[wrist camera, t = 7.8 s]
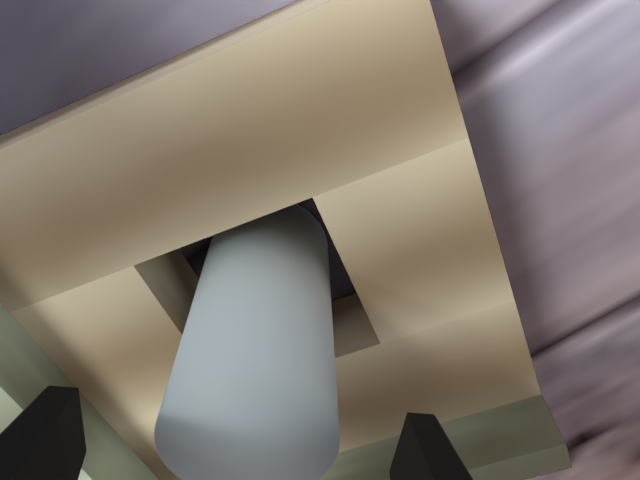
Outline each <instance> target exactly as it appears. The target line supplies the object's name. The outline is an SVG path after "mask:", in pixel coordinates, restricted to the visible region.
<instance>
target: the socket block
mask: <svg viewBox="0 0 640 480" xmlns="http://www.w3.org/2000/svg"><path fill="white" fill-rule="evenodd" d="M309 198H313V200H314V202H315V204H316V206H317V208H318V211H319V213H320V215H321V217H322V219H323V221H324V223H325V226H326V228H327V230H328V232H329V234H330V236H331V238H332V241H333V243H334V245H335V247H336V249H337V251H338V253H339V256H340V258H341V260H342V262H343V264H344V266H345V268H346V271H347V273H348V275H349V277H350V279H351V281H352V283H353V286H354V288H355V290H356V292H357V293H355V294H352V295H349V296H346V297H343V298H340V299H337V300H334V301H331V305H332V321H333V337H334V352H335V368H336V384H337V400H338V416H339V432H340V446H339V450H338V454H337V456H336V459H335V461H334V463H333V464H332V466H331V467H330V469H329V470H328V471H327V472H326V473H325V474H324V475H323V476H322V477H321V478H319V479H318V480H390V472H389V471H390V467H391V464H392V461H393V457H394V454H395V451H396V448H397V444H398V441H399V438H400V435H401V431H402V428H403V425H404V421H405V418H406V415H407V412H410V413H423V414H434V415H435V417H436V418H437V419H438V421H439V423H440V424H441V426H442V428H443V430H444V431H445V433H446V435H447V437H448V438H449V440H450V442H451V444H452V445H453V447H454V449H455V450H456V452H457V454H458V455H459V457H460V459H461V460H462V462H463V464H464V465H465V467H466V469H467V470H468V472H469V473H470V475H471V477H472V478H473V480H525V479H529V478H533V477H537V476H541V475H544V474H548V473H552V472H556V471H560V470H564V469H567V468H571V467H572V464H571V461H570V457H569V453H568V449H567V446H566V443H565V441H564V439H563V437H562V435H561V433H560V431H559V429H558V427H557V425H556V423H555V421H554V419H553V417H552V415H551V413H550V410H549V408H548V406H547V404H546V402H545V400H544V398H543V396H542V394H541V391H540V387H539V384H538V380H537V377H536V373H535V370H534V366H533V363H532V359H531V356H530V352H529V349H528V345H527V342H526V338H525V334H524V331H523V327H522V324H521V320H520V317H519V313H518V310H517V306H516V303H515V299H514V296H513V292H512V289H511V285H510V282H509V278H508V275H507V271H506V267H505V264H504V260H503V257H502V253H501V250H500V246H499V243H498V239H497V236H496V232H495V229H494V225H493V222H492V218H491V215H490V211H489V208H488V204H487V200H486V197H485V193H484V190H483V186H482V183H481V179H480V176H479V172H478V169H477V165H476V162H475V158H474V155H473V151H472V148H471V144H470V141H469V137H468V134H467V130H466V126H465V123H464V119H463V116H462V112H461V109H460V105H459V102H458V98H457V95H456V91H455V88H454V84H453V81H452V77H451V74H450V70H449V67H448V63H447V59H446V56H445V52H444V49H443V45H442V42H441V38H440V35H439V31H438V28H437V24H436V21H435V17H434V14H433V10H432V7H431V3H430V0H298V1H296V2H294V3H291V4H289V5H287V6H285V7H283V8H280V9H278V10H276V11H274V12H272V13H269V14H267V15H265V16H263V17H261V18H258V19H256V20H254V21H252V22H250V23H247V24H245V25H243V26H241V27H239V28H236V29H234V30H232V31H230V32H228V33H225V34H223V35H221V36H219V37H217V38H214V39H212V40H210V41H208V42H206V43H203V44H201V45H199V46H197V47H195V48H192V49H190V50H188V51H186V52H184V53H181V54H179V55H177V56H175V57H173V58H170V59H168V60H166V61H164V62H162V63H159V64H157V65H155V66H153V67H151V68H148V69H146V70H144V71H142V72H140V73H137V74H135V75H133V76H131V77H129V78H126V79H124V80H122V81H120V82H118V83H115V84H113V85H111V86H109V87H107V88H104V89H102V90H100V91H98V92H96V93H93V94H91V95H89V96H87V97H85V98H82V99H80V100H78V101H76V102H74V103H71V104H69V105H67V106H65V107H63V108H60V109H58V110H56V111H54V112H52V113H49V114H47V115H45V116H43V117H41V118H38V119H36V120H34V121H32V122H30V123H27V124H25V125H23V126H21V127H19V128H16V129H14V130H12V131H10V132H8V133H5V134H3V135H1V136H0V433H1V432H2V431H3V430H4V429H5V428H6V427H7V426H8V425H9V424H10V423H11V422H12V421H13V420H14V419H15V418H16V417H17V416H18V415H19V414H20V413H21V412H22V411H23V410H24V409H25V408H26V407H27V406H28V405H29V404H30V403H31V402H32V401H33V400H34V399H35V398H36V397H37V396H38V395H39V394H40V393H41V392H42V391H43V390H44V389H45V388H46V387H48V386H63V387H76V388H78V389H79V396H80V404H81V412H82V419H83V427H84V434H85V442H86V450H87V452H86V455H85V458H84V461H83V465H82V468H81V471H80V474H79V478H78V480H181V479H180V478H179V477H177V476H176V475H175V474H174V473H173V472H172V471H170V469H169V468H168V467H167V466H166V465H165V464H164V462H163V461H162V459H161V457H160V456H159V453H158V451H157V449H156V445H155V440H154V430H155V425H156V421H157V418H158V414H159V411H160V408H161V404H162V401H163V398H164V394H165V391H166V388H167V384H168V381H169V378H170V375H171V371H172V368H173V365H174V361H175V358H176V355H177V351H178V348H179V345H180V341H181V338H182V335H183V332H184V328H185V325H186V322H187V318H188V315H189V312H190V308H191V305H192V302H193V298H194V295H195V292H196V289H197V285H198V282H199V278H198V277H197V275H196V274H195V272H194V271H193V269H192V267H191V266H190V264H189V263H188V261H187V260H186V258H185V257H184V255H183V253H182V252H181V250H180V249H179V248H181V247H184V246H186V245H189V244H191V243H194V242H197V241H199V240H202V239H204V238H207V237H210V236H212V235H215V234H218V233H220V232H223V231H225V230H228V229H231V228H233V227H236V226H239V225H241V224H244V223H246V222H249V221H252V220H254V219H257V218H260V217H262V216H265V215H267V214H270V213H273V212H275V211H278V210H281V209H283V208H286V207H288V206H291V205H294V204H296V203H299V202H301V201H304V200H307V199H309Z"/></svg>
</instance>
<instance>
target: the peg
mask: <svg viewBox="0 0 640 480" xmlns="http://www.w3.org/2000/svg"><path fill="white" fill-rule="evenodd" d="M154 440H155V445H156V449H157V451H158V453H159V456H160V457H161V459H162V461H163V462H164V464H165V465H166V466H167V467H168V468H169V469H170V471H172V472H173V473H174V474H175V475H176V476H177V477H179V478H180V479H181V480H318V479H319V478H321V477H322V476H323V475H324V474H325V473H326V472H327V471H328V470H329V469H330V467H331V466H332V464H333V463H334V461H335V459H336V456H337V454H338V450H339V446H340V432H339V416H338V400H337V384H336V368H335V352H334V337H333V321H332V305H331V289H330V273H329V257H328V244H327V238H326V235H325V232H324V230H323V228H322V226H321V225H320V223H319V222H318V220H317V219H316V218H315V217H314V216H313V215H312V214H311V213H310V212H309V211H307V210H306V209H304V208H303V207H301V206H299V205H297V204H294V205H291V206H288V207H286V208H283V209H281V210H278V211H275V212H273V213H270V214H267V215H265V216H262V217H260V218H257V219H254V220H252V221H249V222H246V223H244V224H241V225H239V226H236V227H233V228H231V229H228V230H225V231H223V232H220V233H218V234H215V235H213V236H212V239H211V242H210V246H209V249H208V252H207V256H206V259H205V262H204V265H203V269H202V272H201V275H200V279H199V282H198V285H197V289H196V292H195V295H194V298H193V302H192V305H191V308H190V312H189V315H188V318H187V322H186V325H185V328H184V332H183V335H182V338H181V341H180V345H179V348H178V351H177V355H176V358H175V361H174V365H173V368H172V371H171V375H170V378H169V381H168V384H167V388H166V391H165V394H164V398H163V401H162V404H161V408H160V411H159V414H158V418H157V421H156V425H155V430H154Z"/></svg>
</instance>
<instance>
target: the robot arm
mask: <svg viewBox="0 0 640 480" xmlns="http://www.w3.org/2000/svg"><path fill="white" fill-rule="evenodd" d="M86 452H87V450H86V442H85V434H84V427H83V419H82V412H81V404H80V396H79V389H78V388H76V387H63V386H48V387H46V388H45V389H44V390H43V391H42V392H41V393H40V394H39V395H38V396H37V397H36V398H35V399H34V400H33V401H32V402H31V403H30V404H29V405H28V406H27V407H26V408H25V409H24V410H23V411H22V412H21V413H20V414H19V415H18V416H17V417H16V418H15V419H14V420H13V421H12V422H11V423H10V424H9V425H8V426H7V427H6V428H5V429H4V430H3V431H2V432H1V433H0V480H78V478H79V474H80V471H81V468H82V465H83V461H84V458H85V455H86ZM389 472H390V480H473V478H472V477H471V475H470V473H469V472H468V470H467V469H466V467H465V465H464V464H463V462H462V460H461V459H460V457H459V455H458V454H457V452H456V450H455V449H454V447H453V445H452V444H451V442H450V440H449V438H448V437H447V435H446V433H445V431H444V430H443V428H442V426H441V424H440V423H439V421H438V419H437V418H436V417H435V415H434V414H423V413H410V412H407V415H406V418H405V421H404V425H403V428H402V431H401V435H400V438H399V441H398V444H397V448H396V451H395V454H394V457H393V461H392V464H391V467H390V471H389Z"/></svg>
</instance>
